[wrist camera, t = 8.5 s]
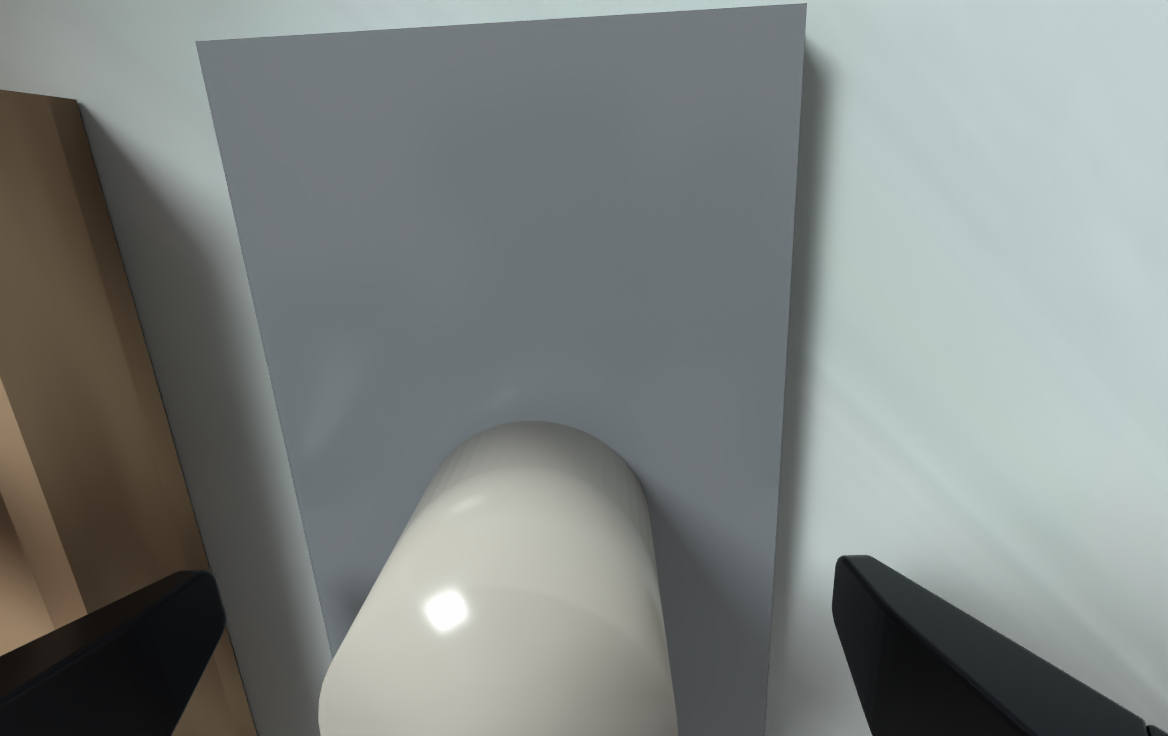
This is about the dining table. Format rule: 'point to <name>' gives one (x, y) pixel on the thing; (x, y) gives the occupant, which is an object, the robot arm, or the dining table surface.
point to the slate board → (532, 284)
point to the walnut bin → (83, 411)
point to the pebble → (513, 602)
